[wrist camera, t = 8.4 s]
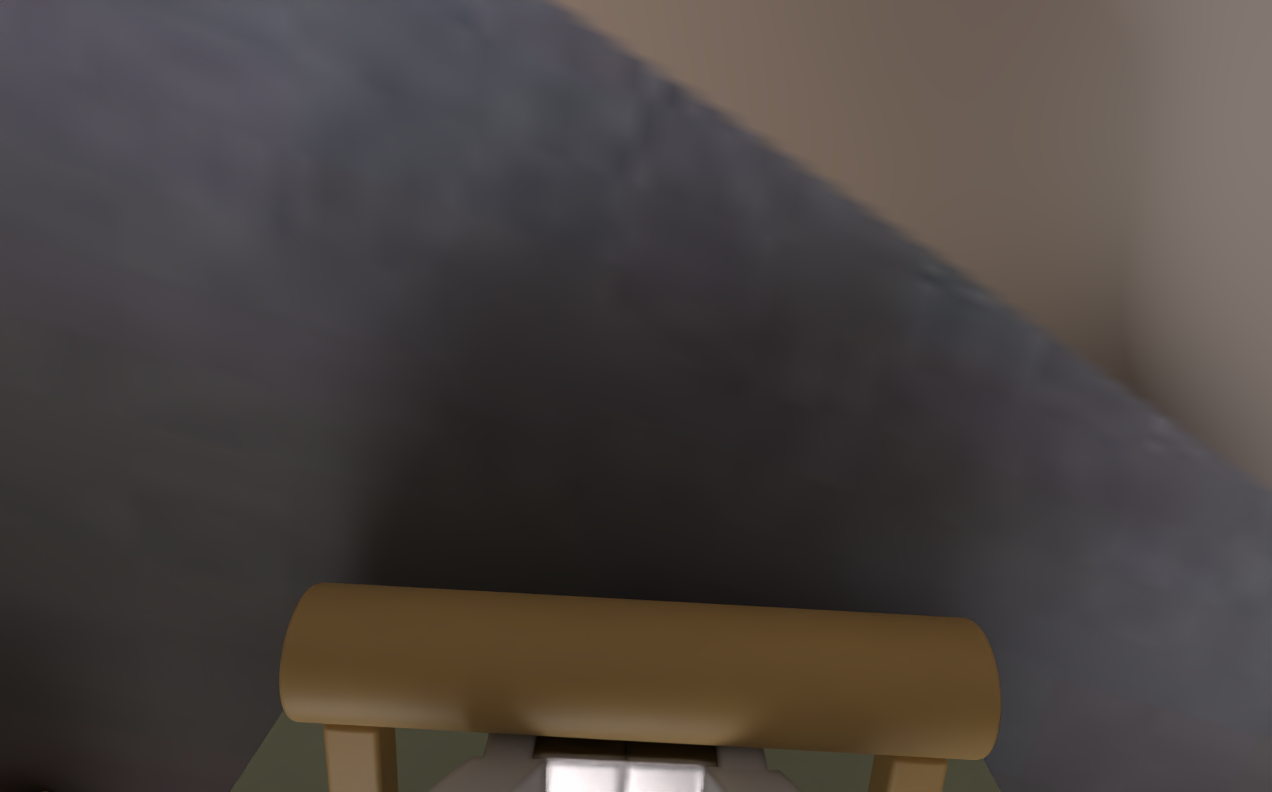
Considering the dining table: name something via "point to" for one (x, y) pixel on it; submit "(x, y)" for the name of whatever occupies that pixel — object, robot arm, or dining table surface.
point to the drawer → (623, 687)
